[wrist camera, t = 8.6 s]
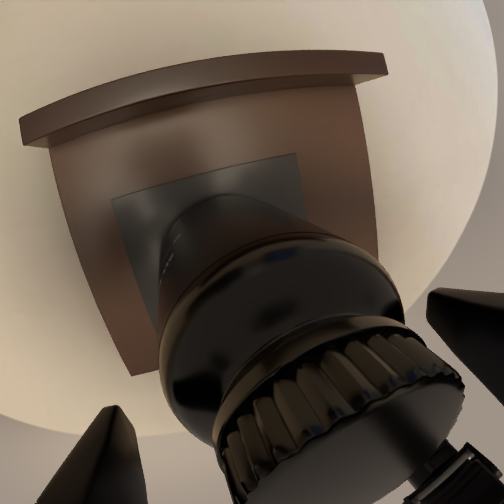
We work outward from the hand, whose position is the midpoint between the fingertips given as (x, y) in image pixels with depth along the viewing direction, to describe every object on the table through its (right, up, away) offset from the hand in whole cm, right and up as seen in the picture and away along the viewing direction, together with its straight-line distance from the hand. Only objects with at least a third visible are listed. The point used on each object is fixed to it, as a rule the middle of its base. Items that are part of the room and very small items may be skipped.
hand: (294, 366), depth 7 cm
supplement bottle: (-2, +2, +8) cm, 9 cm away
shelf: (-2, +5, +9) cm, 10 cm away
